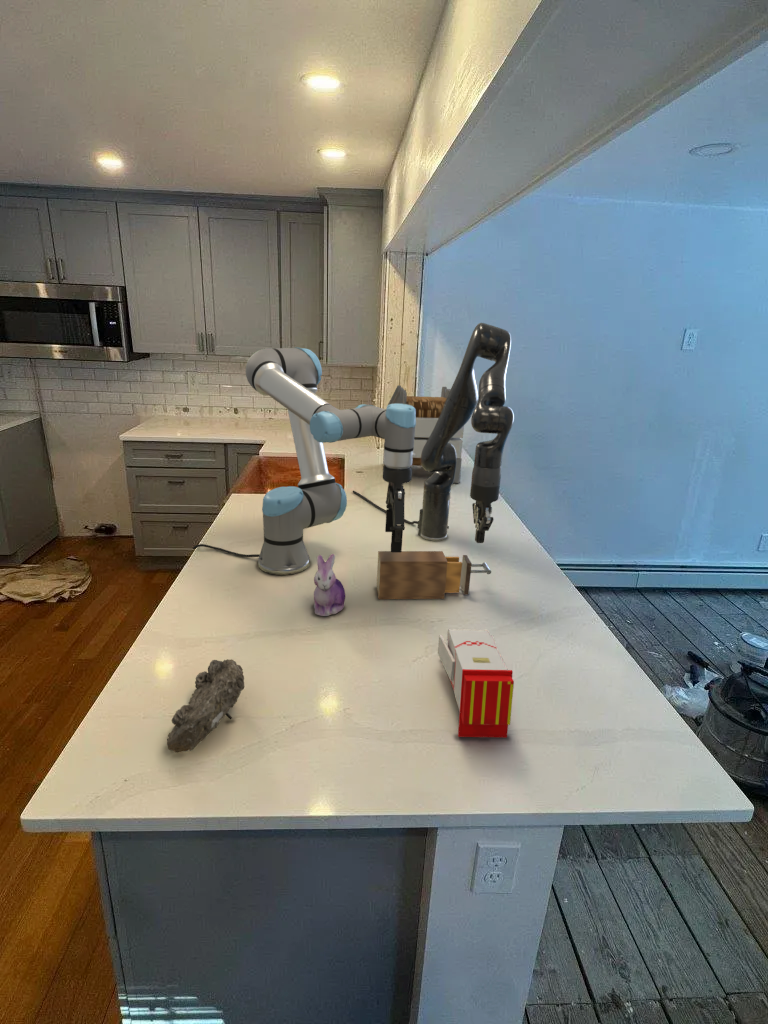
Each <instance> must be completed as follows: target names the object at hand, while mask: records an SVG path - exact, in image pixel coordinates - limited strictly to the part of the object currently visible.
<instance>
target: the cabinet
mask: <svg viewBox="0 0 768 1024" xmlns="http://www.w3.org/2000/svg"><path fill="white" fill-rule="evenodd" d="M446 557H447V556H446V554H445V553H444V551H443V550H402V551H401V552H391V550H388V551H387V550H379V551H377V565H376V566H377V567H376V570H377V571H376V593H377V597H378V600H444V599H445V595H446V593H445V584H446V573H447V562H448V561H447V559H446Z"/></svg>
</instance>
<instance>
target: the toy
mask: <svg viewBox="0 0 768 1024" xmlns="http://www.w3.org/2000/svg"><path fill="white" fill-rule="evenodd" d="M446 640H447V643H446V641H445V639H444V636H443V635H442V634H439V637H438V646H437V656H438V657H439V659H440V661H441V663H442V666H443V668H444V670H445V672H446V674H447V677H448V679H449V681H450V684H451V687H452V690H453V693H454V697H455V701H456V705H457V708H458V711H459V714H458V715H459V716H458V730H457V731H458V732H457V737H458V738H508V731H509V726H510V725H511V717H512V707H513V697H514V696H513V695H514V684H515V680H514V679H513V673H514V671H513V670H512V669H508V667H507V665H506V662H505V661H504V659H503V658H502V655H501V653H500V651H499V649H498V647H497V643H496V639H495V637H494V635H493V634H491V632H490V631H489V629H467V628H466V629H465V628H463V629H461V628H460V629H459V628H448V630H447V639H446Z"/></svg>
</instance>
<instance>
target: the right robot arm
mask: <svg viewBox="0 0 768 1024" xmlns="http://www.w3.org/2000/svg"><path fill="white" fill-rule="evenodd" d="M467 343H468V344H467V347H466V349H465V353H464V354H463V358H462V361H461V364H460V367H459V370H458V372H457V374H456V377H455V379H454V381H453V382H452V383H453V384H452V385H451V387H450V392H449V394H448V397H447V399H446V401H445V404H444V407H443V409H442V412H441V414H440V416H439V418H438V421H437V423H436V425H435V427H434V429H433V431H432V433H431V435H430V437H429V438H428V440H427V442H426V444H425V446H424V448H423V450H422V453H421V465H422V466H421V467H422V469H423V470H424V471H426V472H428V473H432V474H431V475H430V476H429V477H427V478H426V479H425V480H424V482H423V493H422V496H423V497H422V506H421V508H420V509H419V516H418V520H412V521H410V520H407V519H405V518H404V523H405V524H408V525H411V526H412V525H415V524H416V525H417V527H416V528H417V535H418V536H420V538H421V539H424V540H426V541H432V542H440V541H444V540H446V539H447V538H448V530H449V529H450V526H449V517H450V516H449V514H450V504H451V494H452V493H451V491H452V486H453V484H454V483H453V482H454V476H455V469H456V461H457V455H456V450H455V448H454V446H453V445H452V444H450V443H448V442H449V440H450V439H451V438H452V437H453V436H454V435H455V434H456V433H457V432H458V431H459V430H460V429H461V428H462V427H463V426H464V427H465V425H466V424H467V423H468V422H469V420H470V419H471V420H470V424H471V427H472V429H473V430H474V431H475V432H477V433H479V434H492V435H493V434H494V435H496V436H495V437H494V438H493V439H489V440H484V441H480V442H478V443H476V446H475V451H474V460H473V461H474V462H473V468H472V471H471V480H470V481H471V482H470V491H469V492H470V493H469V498H470V499H472V500H473V501H475V502H473V503H472V504H471V505H472V517H473V524H474V527H475V534H474V535H475V536H474V541H475V542H476V544H483V543H485V536H486V532H488V531H489V530H490V528H491V526H492V524H493V522H494V520H495V519H494V517H493V516H491V515H492V513H493V506H492V504H493V503H495V502H497V501H498V500H499V499H500V487H501V481H502V480H501V479H502V464H503V463H502V461H503V455H504V449H505V445H506V442H507V439H508V438H509V435H510V432H511V430H512V428H513V425H514V422H515V414H514V411H513V409H512V408H511V407H509V406H506V405H505V404H506V402H507V401H506V400H507V393H506V391H507V390H506V377H507V370H508V365H509V360H510V354H511V353H510V352H511V348H512V335H511V332H509V331H508V330H506V329H504V328H502V327H501V328H500V327H497V326H495V325H492V324H489V323H485V322H479V323H477V324H476V326H475V327H474V329H473V330H472V333H471V335H470V338H469V341H468V342H467ZM477 358H482V359H485V360H488V361H492V362H494V363H493V364H492V365H491V366H490V367H489V368H487V369H486V370H485V371H484V372H483V374H481V377H480V378H479V383H478V386H477V382H476V376H475V363H476V360H477ZM352 493H353V494H355V495H357V496H359V497H360V498H361V499H363V500H364V501H366V502H368V503H369V504H370V505H371V506H373V507H375V508H377V509H378V510H380V511H382V512H384V513H385V514H386V509H384V508H383V507H381V506H379V505H378V504H376V503H374V502H373V501H371V500H369V498H367V497H366V496H364V495H363V494H361V493H360V492H358V491H356V490H352Z"/></svg>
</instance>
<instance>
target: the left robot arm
mask: <svg viewBox="0 0 768 1024" xmlns="http://www.w3.org/2000/svg"><path fill="white" fill-rule="evenodd" d="M322 375H323V369H322V364H321V362H320V360H319V357H318V356H317V354H316V353H315V352H313V351H312V349H309V348H304V347H303V348H302V347H297V346H296V347H280V348H279V347H278V348H277V347H275V348H271V347H267V348H262V349H259V350H257V351H255V352H254V353H253V354H252V355H251V356H250V357H249V358H248V360H247V362H246V365H245V378H246V380H247V382H248V384H249V385H250V387H252V389H254V390H255V391H256V392H257V393H258V394H260V395H262V396H265V397H266V396H269V397H270V398H271V399H273V400H274V401H275V402H277V403H278V404H280V405H281V406H283V407H284V408H285V409H287V414H288V418H289V423H290V429H291V433H292V438H293V444H294V448H295V453H296V458H297V464H298V468H299V472H300V480H299V481H298V483H297V486H294V485H288V486H279V487H276V488H273V489H271V490H269V491H267V492H266V493H265V494H264V495H263V498H262V508H261V512H262V525H263V527H262V529H263V543H262V546H261V549H260V553H259V554H257V553H256V554H255V553H254V554H253V553H251V554H244V553H238V552H234V551H231V550H227V549H225V548H223V547H222V548H221V547H217V546H213V545H209V544H205V543H199V544H196V545H194V546H193V547H192V549H193V550H196V549H197V548H201V547H202V548H207V549H212V550H216V551H220V552H223V553H226V554H229V555H233V556H237V557H240V558H241V557H242V558H258V559H257V562H258V563H257V564H258V569H260V570H261V571H262V572H263V573H266V574H270V575H274V576H275V575H276V576H288V575H295V574H298V573H299V574H300V573H302V572H304V571H305V570H307V569H308V568H309V566H310V556H309V553H308V550H307V547H306V544H305V542H304V530H305V529H309V528H314V527H316V526H320V525H324V524H330V523H332V522H335V521H338V520H339V519H341V518H342V517H343V515H344V514H345V512H346V510H347V506H348V498H347V493H346V491H345V489H344V488H343V486H342V484H340V483H338V482H336V478H335V476H333V475H332V474H331V473H330V472H329V468H328V462H327V457H326V452H325V451H326V450H325V447H324V443H328V444H329V443H330V444H332V443H335V442H341V441H346V440H354V439H361V438H367V437H374V438H375V437H376V438H378V439H382V440H384V442H385V443H384V442H383V458H382V459H383V460H382V463H384V464H385V465H384V464H383V466H382V480H383V481H384V482H386V483H387V484H388V485H387V492H386V499H385V504H386V505H385V507H386V509H385V510H386V513H385V529H384V531H385V533H391V541H390V551H391V552H401V551H403V536H404V535H403V534H404V531H405V529H406V526H405V522H404V519H405V499H406V497H405V495H406V490H405V488H404V484H408V483H410V482H411V481H412V479H413V477H412V475H413V467H412V466H411V465H412V461H413V459H412V457H415V453H413V449H414V435H415V426H416V410H415V408H414V407H413V406H411V405H407V404H390V405H388V404H387V405H388V406H387V405H386V407H385V408H383V407H382V408H381V407H378V406H376V405H373V404H365V403H362V404H359V405H357V406H356V407H354V408H348V409H339V408H337V407H336V406H333V405H332V404H331V403H329V402H328V401H326V400H325V399H323V398H322V397H321V396H319V395H318V394H316V393H317V392H318V385H319V384H321V383H320V382H321V381H322Z"/></svg>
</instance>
